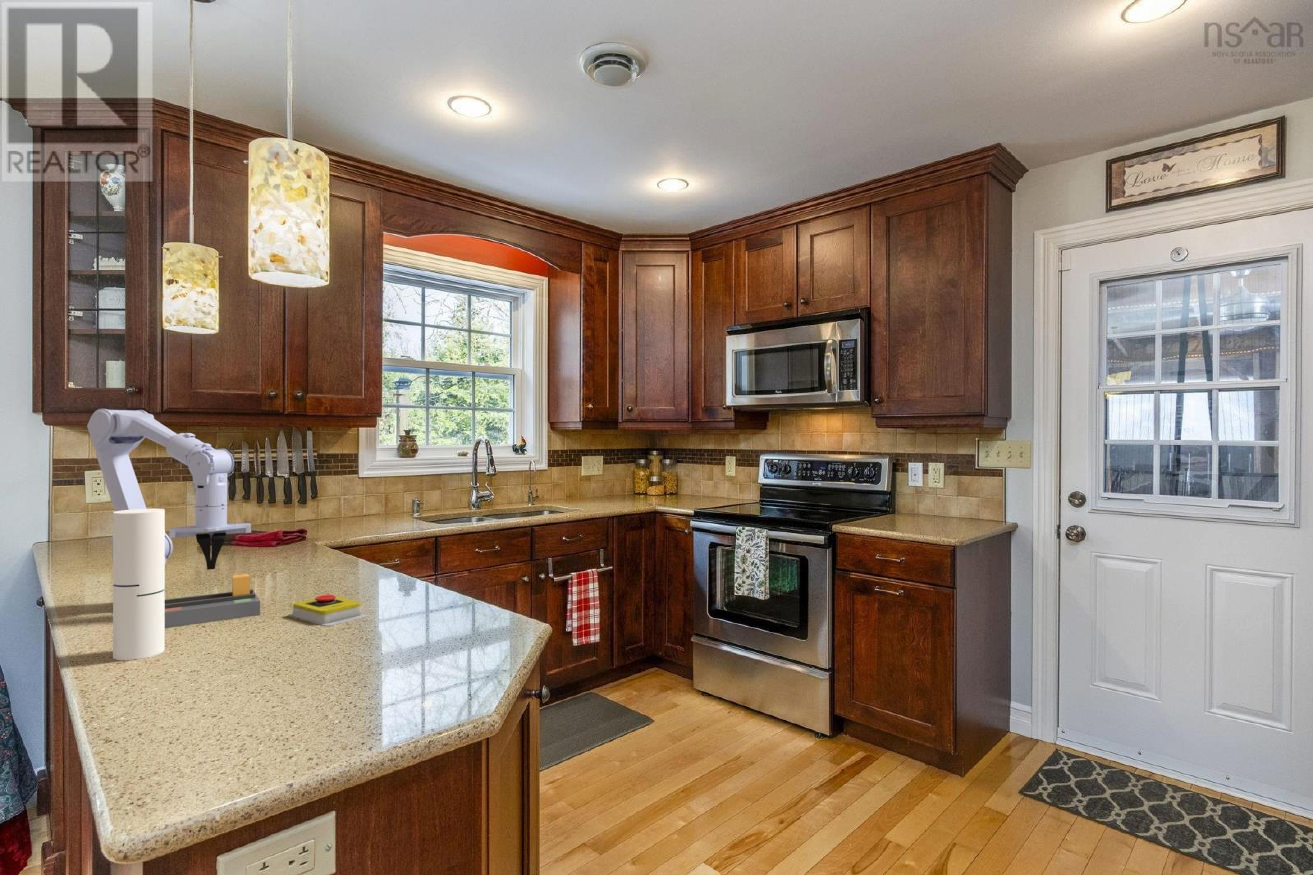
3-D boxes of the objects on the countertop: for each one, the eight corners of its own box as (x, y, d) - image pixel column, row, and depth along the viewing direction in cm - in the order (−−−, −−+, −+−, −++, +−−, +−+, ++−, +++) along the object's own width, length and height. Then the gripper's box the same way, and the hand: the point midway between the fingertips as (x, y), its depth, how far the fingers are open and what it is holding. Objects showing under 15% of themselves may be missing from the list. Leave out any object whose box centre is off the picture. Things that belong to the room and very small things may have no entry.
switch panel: (154, 615, 141) (154, 597, 141) (253, 602, 151) (253, 586, 151) (153, 629, 131) (153, 610, 131) (260, 614, 142) (260, 597, 142)
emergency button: (328, 588, 149) (369, 598, 142) (328, 608, 149) (369, 618, 142) (286, 597, 142) (328, 607, 134) (286, 617, 142) (328, 629, 134)
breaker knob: (232, 595, 145) (232, 575, 145) (248, 593, 147) (248, 573, 147) (233, 598, 143) (233, 577, 143) (249, 596, 144) (249, 576, 144)
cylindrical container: (121, 649, 119) (121, 509, 119) (169, 645, 122) (169, 508, 121) (106, 662, 112) (106, 514, 112) (158, 657, 115) (158, 512, 115)
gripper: (169, 509, 136) (169, 575, 136) (252, 505, 145) (252, 568, 145) (169, 506, 142) (169, 569, 142) (249, 502, 150) (249, 562, 150)
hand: (211, 568), depth 144 cm, fingers closed
